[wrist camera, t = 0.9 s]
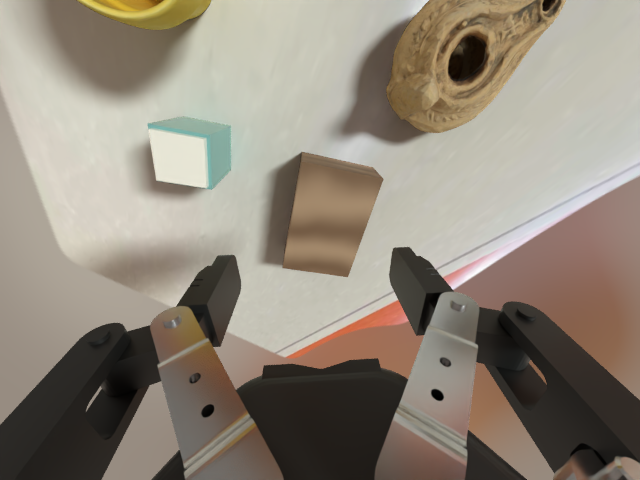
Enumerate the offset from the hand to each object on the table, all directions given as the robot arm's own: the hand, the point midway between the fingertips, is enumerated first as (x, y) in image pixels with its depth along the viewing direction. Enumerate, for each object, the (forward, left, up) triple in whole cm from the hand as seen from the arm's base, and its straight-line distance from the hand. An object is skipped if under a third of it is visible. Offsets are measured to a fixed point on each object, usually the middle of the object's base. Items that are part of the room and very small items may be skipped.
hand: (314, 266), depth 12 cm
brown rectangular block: (+6, +3, -21) cm, 22 cm away
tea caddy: (0, -12, -20) cm, 24 cm away
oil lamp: (-13, +12, -21) cm, 27 cm away
